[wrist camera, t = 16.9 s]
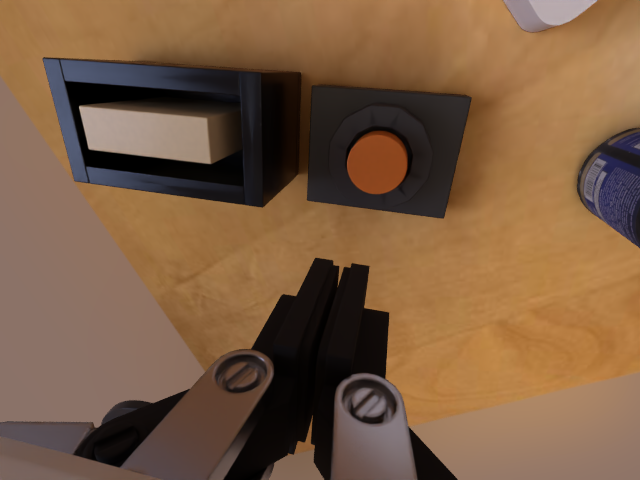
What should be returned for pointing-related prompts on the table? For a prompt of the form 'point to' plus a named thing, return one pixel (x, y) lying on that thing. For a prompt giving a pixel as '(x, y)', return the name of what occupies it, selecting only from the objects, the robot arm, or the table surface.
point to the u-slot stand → (545, 12)
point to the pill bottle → (614, 183)
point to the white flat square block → (165, 128)
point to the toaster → (189, 83)
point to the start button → (377, 162)
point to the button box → (399, 119)
